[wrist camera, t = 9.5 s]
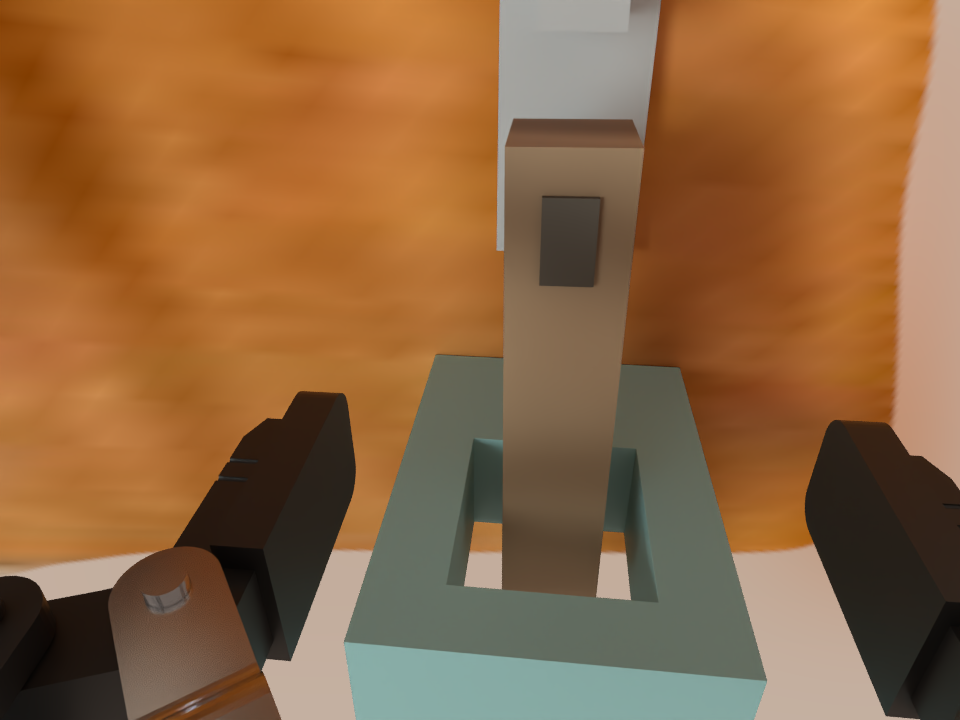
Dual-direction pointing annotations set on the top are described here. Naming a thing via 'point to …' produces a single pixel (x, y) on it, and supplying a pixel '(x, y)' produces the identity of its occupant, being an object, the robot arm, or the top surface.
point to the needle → (563, 341)
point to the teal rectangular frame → (542, 616)
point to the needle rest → (573, 65)
